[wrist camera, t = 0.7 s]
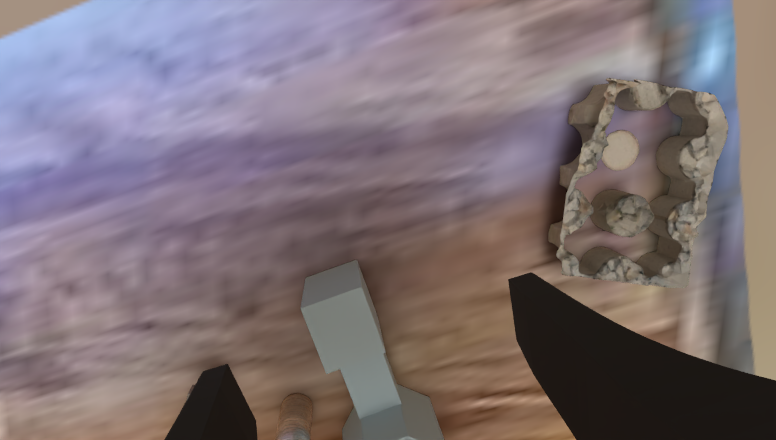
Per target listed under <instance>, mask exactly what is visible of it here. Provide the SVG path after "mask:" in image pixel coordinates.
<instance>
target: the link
mask: <svg viewBox="0 0 776 440" xmlns="http://www.w3.org/2000/svg"><path fill="white" fill-rule="evenodd" d="M300 309H301V311H302V314H303V316H304V319H305V321H306V324H307V326H308V329H309V331H310V334H311V336H312V339H313V342H314V344H315V347H316V349H317V352H318V354H319V357H320V359H321V362H322V364H323V367H324V369H325V372H326V374H328V373H331V372H334V371H337V370H339V369H340V370H341V373H342V375H343V378H344V380H345V383H346V385H347V388H348V390H349V393H350V396H351V398H352V401H353V403H354V407H353V409H352V411H351V413H350V415H349V417H348V419H347V421H346V423H345V425H344V427H343V428H342V435H343V440H444V437H443V434H442V431H441V429H440V426H439V424H438V421H437V418H436V415H435V412H434V409H433V406H432V403H431V401H430V398H429V397H428V396H425V395H423V394H420V393H418V392H416V391H413V390H411V389H408V388H406V387H403V386H401V385H399V384H397V383H396V380H395V377H394V375H393V372H392V369H391V366H390V364H389V361H388V358H387V356H386V351H385V347H384V342H383V338H382V334H381V329H380V325H379V320H378V316H377V313H376V310H375V308H374V305H373V302H372V299H371V297H370V294H369V291H368V289H367V286H366V283H365V280H364V278H363V275H362V272H361V269H360V267H359V264H358V261H357V260H354V261H351V262H348V263H345V264H343V265H340V266H337V267H334V268H331V269H329V270H326V271H323V272H320V273H317V274H315V275H312V276H309V277H306V279H305V285H304V290H303V296H302V302H301V308H300Z"/></svg>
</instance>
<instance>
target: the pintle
mask: <svg viewBox="0 0 776 440" xmlns="http://www.w3.org/2000/svg"><path fill="white" fill-rule="evenodd" d="M312 410H313V406H312V402H311V400H310V399H309V398H308V397H307V396H305V395H303V394H299V393H296V394H291V395H289V396H288V397H286V398H285V399H284V401H283V402H282V405H281V410H280V416H279V422H278V427H277V433H276V439H275V440H310V439H311V424H312Z"/></svg>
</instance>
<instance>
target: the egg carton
mask: <svg viewBox="0 0 776 440" xmlns="http://www.w3.org/2000/svg"><path fill="white" fill-rule="evenodd" d="M606 80H607V81H608V82H609V84H602V85H594V86H593V88H592V90H591V92H590V94H589V95H588V97H587V98H586V99H585V100H583V101H581V102H580V103H577V104H573V105H572V107H571V109H570V112H569V118H568V124H570V125H572V126H574V127H575V128H576V129H577V130H578V131H579V132H580V135H581V138H582V148H581V152H580V154H579V155H578V156H577V158H576V159H575V160H574V161H572V162H571V163H569V164H566V165H561V166H560V185H562V186H563V187H565V188H566V189H567V190H568V191H567V193H566V200H565V209H564V216H563V220H562V221H560V222H559V223H555V224H551V226H550V229H549V234H548V240H549V242H550V243H552V244H555V245H556V246H557V247H558V248H559V249H558V251H557V254H556V255H557V258H558V259H560V260H561V261H562V271H561V273H562V274H563V275H567V276H580V277H587V278H593V279H599V280H609V281H616V282H623V283H632V284H639V285H646V286H648V285H654V286H661V287H669V288H686V287H687V286H688V283H689V273H690V266H691V260H692V250H691V248H692V244H693V240H694V238H696V237H697V236H698V232H697V230H696V228H697V226H698V224H699V223H700V222H701V221H702V220H704V218H705V217H706V209H707V199H708V195H709V192H710V189H711V186H712V183H713V174H714V169H715V166H716V164H717V161H718V159H719V156H720V154H721V151H722V149H723V146H724V144H725V141H726V139H727V132H728V124H727V120H726V117H725V115H724V112H723V110H722V108H721V106H720V104H719V102H718V100H717V98H716V97H715V95H713V94H710V93H706V92H696V91H693V90H688V89H683V88H676V87H674V88H672V87H667V86H662V85H660V84H657V83H652V82H647V81H641V80H635V79H634V82H630V81H625V80H617V79H611V78H607V79H606ZM667 101H668V105H669V108H670V110H671V111H672V112H673V113H674V114H675V115H677V116H680V117H682V119H683V122H682V128H681V132H680V134H679V136H672V137H670V138H668V139H666V140H665V141H664V142H663V143H662V144H661V145H660V146H659V148H658V150H657V153H656V162H657V166H658V168H659V170H660V171H661V172H662V173H664V174H665V175H667V176H669V177H670V178H671V182H670V187H669V191H668V194H667V195H663V196H659V197H657V198H655V199H654V200H652V201H651V202H650V203H649V204H648V202H647V201H646V199H645V198H643V197H641V196H639V195H634V194H630V193H626V192H622V191H618V190H605V191H602V192H600V193H599V194H598V195H597V196H596V197H595V198H594V199H593V201H592V203H591V204H590V203H589V202H588V201H587V199H586V198H585V196H584V195H583V193H582V192H581V191H579V190H577V189H575V188H574V186H575V184H576V181H577V180H578V179H579V178H581V177H583V176H586V175H588V174H589V173H591V172H593V171H594V170H595V169H597V162H598V161H599V160H600V159H602V161H603V163H604V164H605V166H606V167H608V168H609V169H611V170H614V171H617V170H623V169H626V168H628V167H630V166H631V165H632V164H633V163H634V161H635V159H636V157H637V155H638V153H639V144H638V141H637V139H636V138H635V136H634V135H633V134H632V133H630V132H628V131H625V130H617V131H615V132H612V133H610V134H609V135H608V136H607V137H606V133H605V130H606V128H607V126H608V124H609V123H610V121H611V118H612V115H613V113H614V106H615V104H616V105H617V106H618V107H619V108H621V109H623V110H628V111H631V110H646V111H647V110H654V109H657V108H659V107H661V106H662V105H664V104H665V103H666V102H667ZM589 216H590V217H591V220H592V222H593V223H594V224H595V225H596V226H598V227H599V228H601V229H604V230H603V231H605V230H606V231H608V232H611V233H613V234H616V235H619V236H622V237H633V236H635V235H637V234H639V233H640V232H642V231H645V230H646V229H647V228H648V229H649V230H650V231H652V232H653V233H655V234H657V235H659V241H658V246H657V250H656V251H655V252H650V253H646V254H645V255H643V256H641V257H640V258H639V260H638V261H637V262H636V263H634V262H632V261H631V260H630V258H628V257H626V256H624V255H622V254H619V253H617V252H615V251H613V250H611V249H608V248H606V247H595V248H593V249H591V250H589V251H588V252H587V253H586V254H585V255H584V256H583V258H582V260H581V262H580V264H579V261H578V260H577V258H576V257H575V256H574V255H573V254H571V253H570V252H568V251H567V250H565V249H564V248H563V247H564V239H565V236H566V235H571V233H572V232H573V231H575V230H577V229H579V228H581V227H582V225H583V224H584V222H585V220H586V219H587V218H588V217H589Z"/></svg>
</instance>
